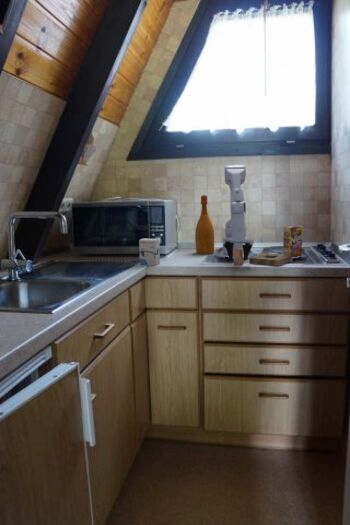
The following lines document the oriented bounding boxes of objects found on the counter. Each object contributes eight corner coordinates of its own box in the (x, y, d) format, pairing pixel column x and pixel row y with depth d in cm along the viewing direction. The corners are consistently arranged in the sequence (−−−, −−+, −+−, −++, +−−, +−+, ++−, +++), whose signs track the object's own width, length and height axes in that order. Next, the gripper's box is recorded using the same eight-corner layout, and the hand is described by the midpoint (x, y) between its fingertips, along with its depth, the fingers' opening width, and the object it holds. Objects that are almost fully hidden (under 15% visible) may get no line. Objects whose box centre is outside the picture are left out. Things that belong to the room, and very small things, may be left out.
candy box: (289, 260, 197) (290, 227, 195) (282, 259, 201) (282, 226, 198) (302, 257, 202) (303, 225, 199) (295, 256, 206) (295, 225, 203)
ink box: (139, 264, 198) (138, 239, 195) (143, 262, 202) (142, 238, 200) (156, 265, 195) (155, 240, 193) (160, 263, 200) (159, 238, 197)
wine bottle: (217, 252, 225) (216, 194, 219) (208, 255, 217) (207, 195, 211) (201, 250, 230) (200, 194, 224) (192, 253, 222) (190, 195, 216)
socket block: (249, 263, 193) (249, 257, 193) (263, 258, 204) (263, 253, 204) (278, 266, 185) (278, 260, 185) (291, 260, 196) (291, 255, 195)
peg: (232, 264, 191) (231, 249, 190) (236, 263, 194) (236, 248, 193) (239, 265, 189) (239, 250, 187) (244, 264, 192) (244, 248, 190)
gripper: (219, 229, 190) (219, 259, 192) (248, 230, 181) (248, 262, 183) (227, 227, 195) (227, 256, 198) (256, 229, 186) (255, 259, 189)
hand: (238, 259), depth 191 cm, fingers open, 7 cm apart
